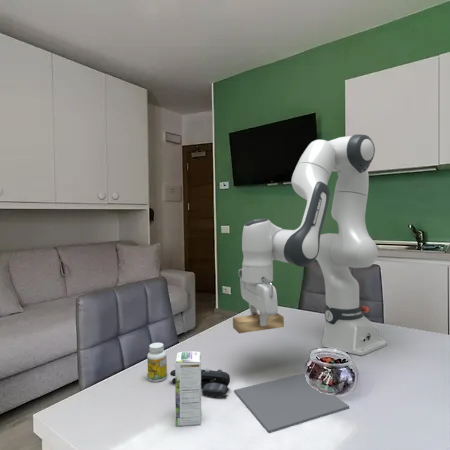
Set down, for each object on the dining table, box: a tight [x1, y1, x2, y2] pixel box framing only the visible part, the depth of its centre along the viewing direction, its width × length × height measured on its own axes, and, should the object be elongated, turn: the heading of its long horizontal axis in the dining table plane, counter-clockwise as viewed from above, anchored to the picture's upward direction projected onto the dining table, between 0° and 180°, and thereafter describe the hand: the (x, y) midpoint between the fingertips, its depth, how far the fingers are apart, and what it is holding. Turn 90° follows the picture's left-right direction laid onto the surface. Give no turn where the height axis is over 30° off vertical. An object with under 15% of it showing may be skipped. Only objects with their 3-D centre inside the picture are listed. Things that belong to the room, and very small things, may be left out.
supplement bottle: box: [146, 342, 168, 383], centre depth 95 cm, size 5×5×10 cm
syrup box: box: [174, 350, 202, 427], centre depth 76 cm, size 6×6×14 cm
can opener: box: [169, 368, 231, 398], centre depth 90 cm, size 18×7×6 cm, turn 67°
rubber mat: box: [233, 372, 350, 434], centre depth 83 cm, size 22×18×1 cm
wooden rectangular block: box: [232, 312, 285, 334], centre depth 97 cm, size 14×5×3 cm, turn 109°
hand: (258, 321), depth 97 cm, fingers closed on wooden rectangular block, 5 cm apart
